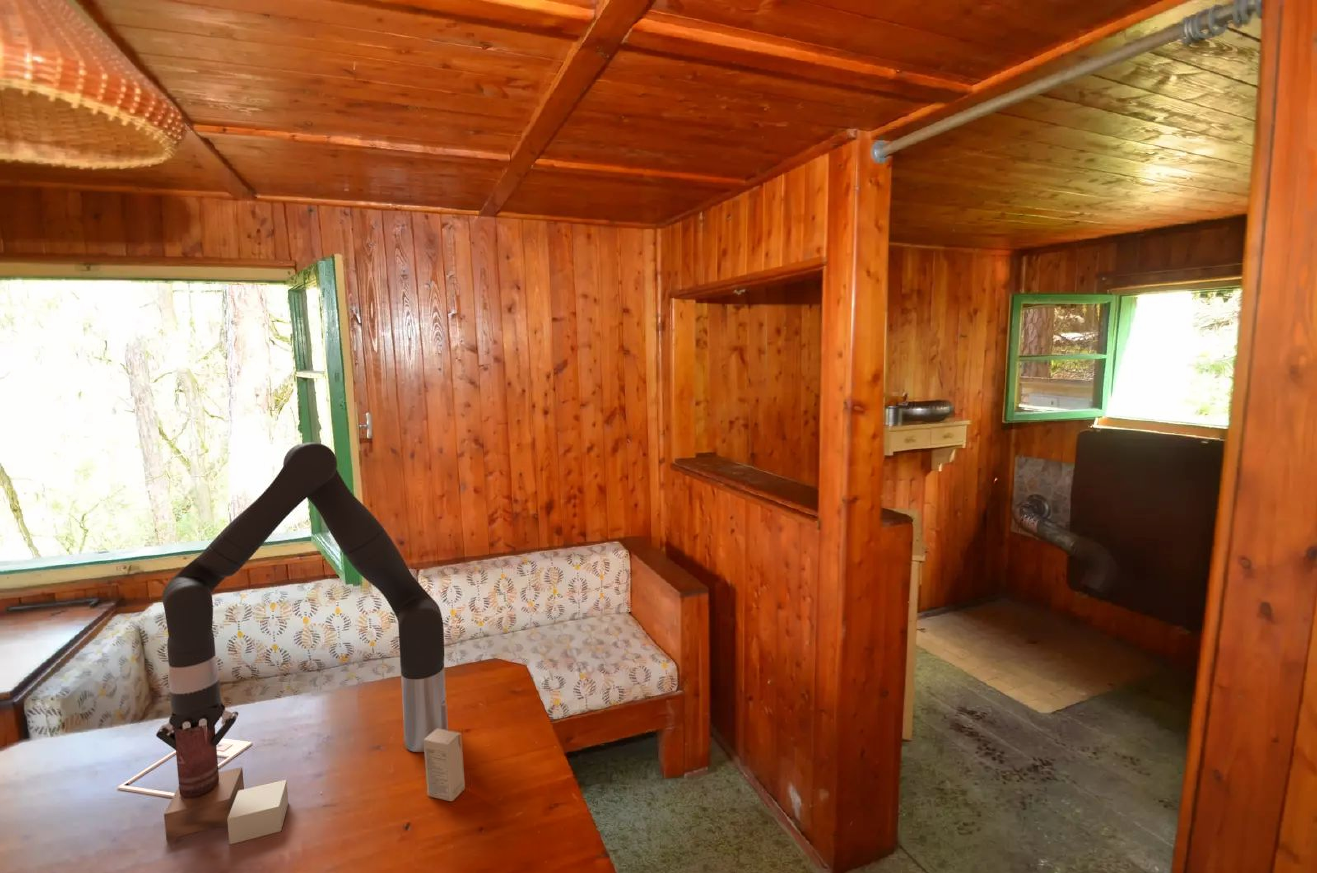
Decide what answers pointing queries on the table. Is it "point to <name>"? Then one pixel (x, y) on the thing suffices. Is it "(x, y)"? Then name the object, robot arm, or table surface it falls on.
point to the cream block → (258, 811)
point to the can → (196, 761)
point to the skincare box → (444, 764)
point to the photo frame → (224, 749)
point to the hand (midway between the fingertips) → (202, 767)
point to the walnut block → (203, 806)
